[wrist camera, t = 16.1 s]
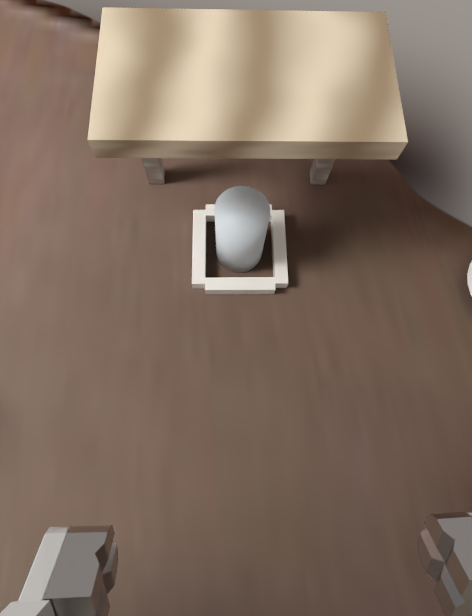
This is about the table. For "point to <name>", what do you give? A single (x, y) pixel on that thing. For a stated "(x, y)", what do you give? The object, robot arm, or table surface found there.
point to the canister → (241, 227)
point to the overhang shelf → (245, 87)
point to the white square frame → (239, 283)
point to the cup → (470, 278)
